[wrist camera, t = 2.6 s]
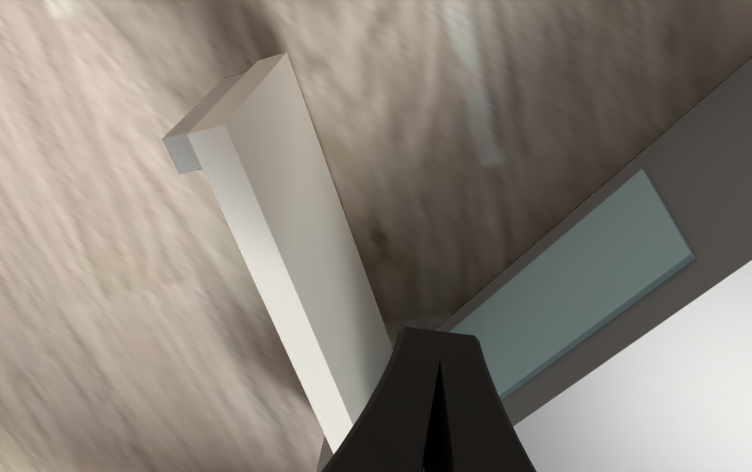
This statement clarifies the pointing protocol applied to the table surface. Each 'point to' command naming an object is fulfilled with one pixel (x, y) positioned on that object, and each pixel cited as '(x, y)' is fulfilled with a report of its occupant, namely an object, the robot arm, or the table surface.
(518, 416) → the camera housing
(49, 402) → the table surface
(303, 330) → the side door
